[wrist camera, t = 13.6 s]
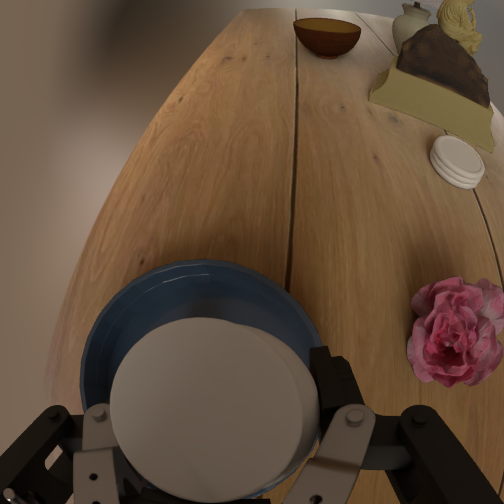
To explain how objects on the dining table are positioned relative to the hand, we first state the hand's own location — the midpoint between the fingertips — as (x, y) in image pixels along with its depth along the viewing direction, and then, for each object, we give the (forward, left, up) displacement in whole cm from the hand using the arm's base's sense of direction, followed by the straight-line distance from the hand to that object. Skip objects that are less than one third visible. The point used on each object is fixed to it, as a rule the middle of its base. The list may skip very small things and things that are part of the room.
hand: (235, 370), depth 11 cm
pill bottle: (0, -2, -6) cm, 6 cm away
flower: (+19, +1, -16) cm, 25 cm away
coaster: (+34, +27, -16) cm, 47 cm away
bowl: (+23, +74, -16) cm, 80 cm away
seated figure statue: (+40, +45, -16) cm, 63 cm away
